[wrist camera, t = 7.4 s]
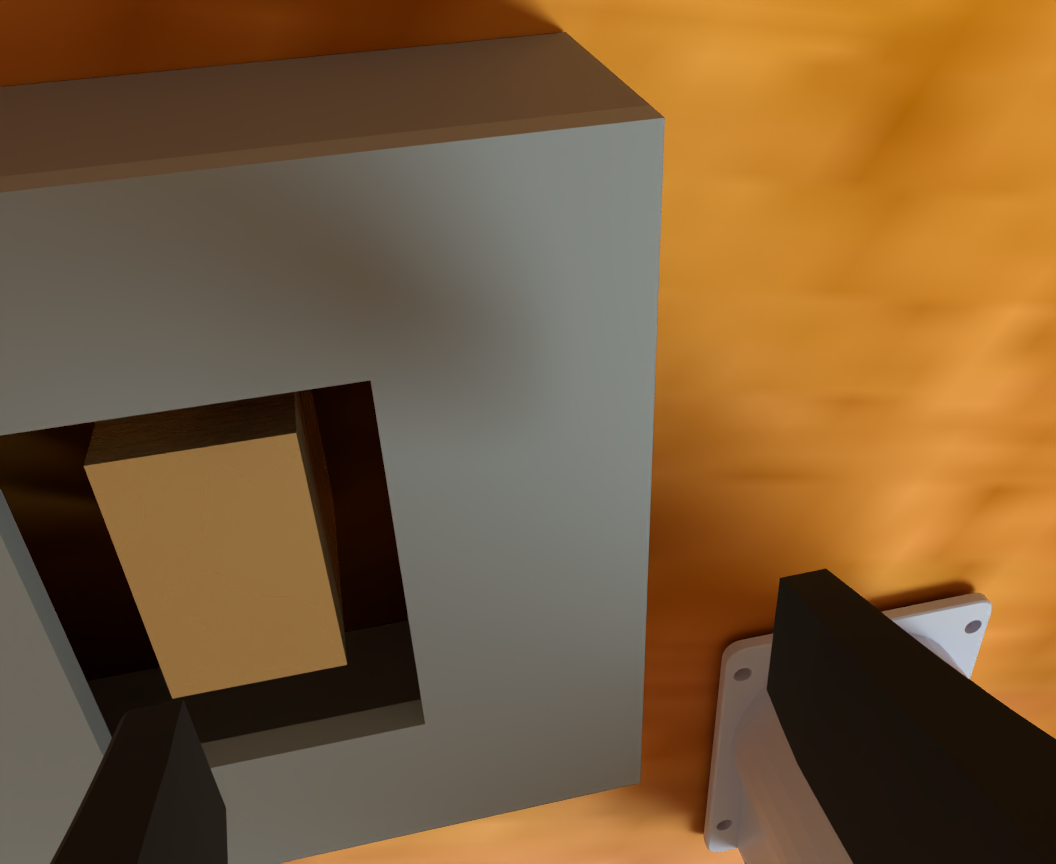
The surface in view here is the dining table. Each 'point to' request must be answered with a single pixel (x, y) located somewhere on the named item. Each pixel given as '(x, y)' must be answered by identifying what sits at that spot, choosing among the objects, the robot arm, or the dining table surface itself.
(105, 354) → the money box
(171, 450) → the wooden block
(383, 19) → the dining table surface
